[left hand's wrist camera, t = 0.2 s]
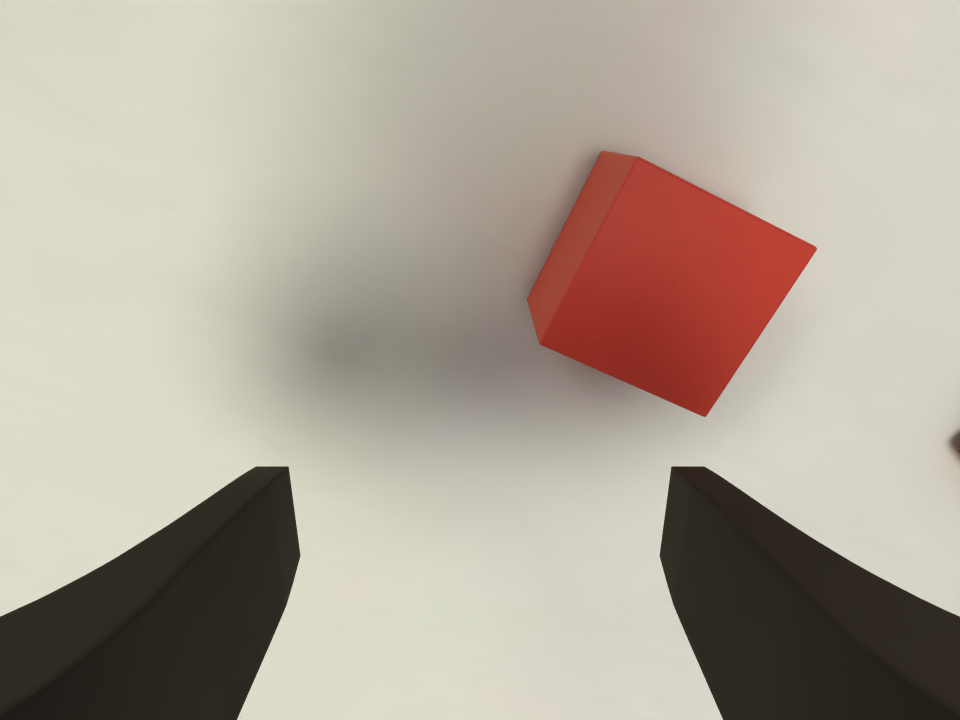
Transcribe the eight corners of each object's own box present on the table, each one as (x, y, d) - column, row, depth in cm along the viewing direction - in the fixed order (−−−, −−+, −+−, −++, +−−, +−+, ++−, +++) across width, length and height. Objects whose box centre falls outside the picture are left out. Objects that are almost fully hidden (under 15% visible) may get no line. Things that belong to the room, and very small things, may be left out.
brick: (526, 299, 19) (538, 344, 15) (601, 150, 18) (637, 155, 14) (660, 360, 20) (705, 418, 16) (744, 222, 18) (818, 248, 14)
